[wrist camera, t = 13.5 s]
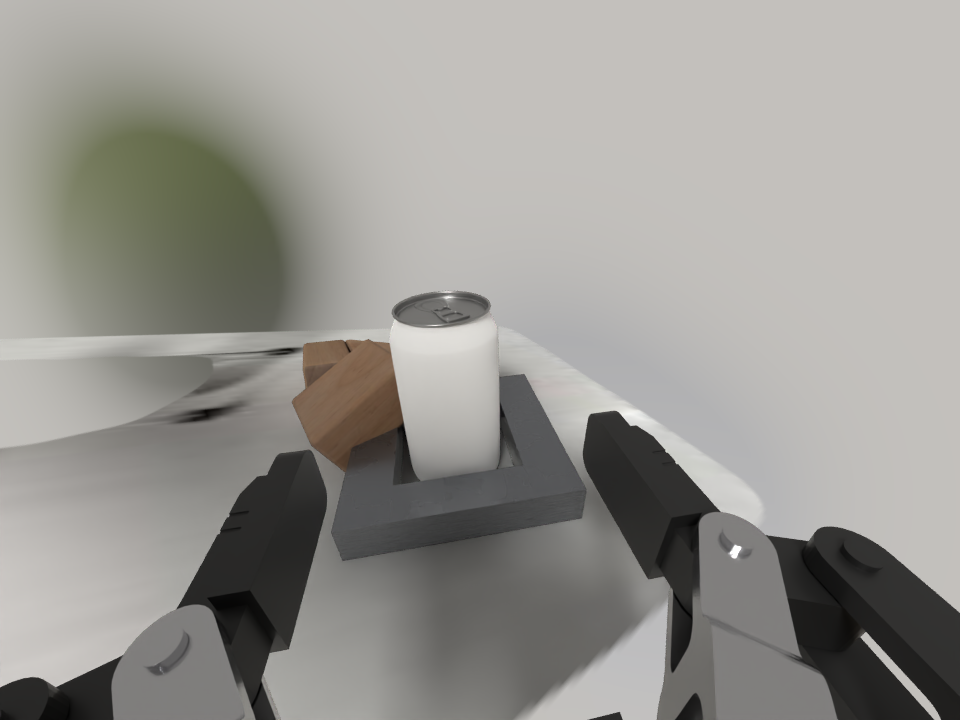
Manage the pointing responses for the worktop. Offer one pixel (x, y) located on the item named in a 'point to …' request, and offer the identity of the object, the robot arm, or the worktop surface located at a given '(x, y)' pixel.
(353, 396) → the wooden blocks
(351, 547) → the gray square frame plate
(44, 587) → the worktop surface
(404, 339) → the can
